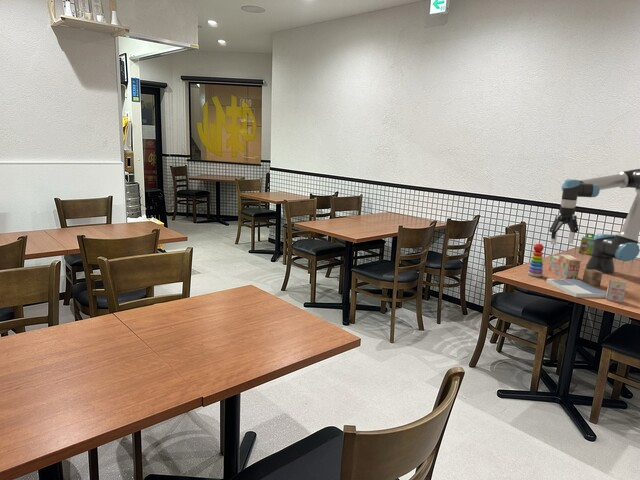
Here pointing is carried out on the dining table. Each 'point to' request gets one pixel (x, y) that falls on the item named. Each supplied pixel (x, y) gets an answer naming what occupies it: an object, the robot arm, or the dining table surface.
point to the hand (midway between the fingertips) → (561, 243)
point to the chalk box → (587, 244)
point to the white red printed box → (615, 291)
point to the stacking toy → (536, 261)
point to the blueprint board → (577, 288)
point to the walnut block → (592, 277)
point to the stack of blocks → (565, 266)
